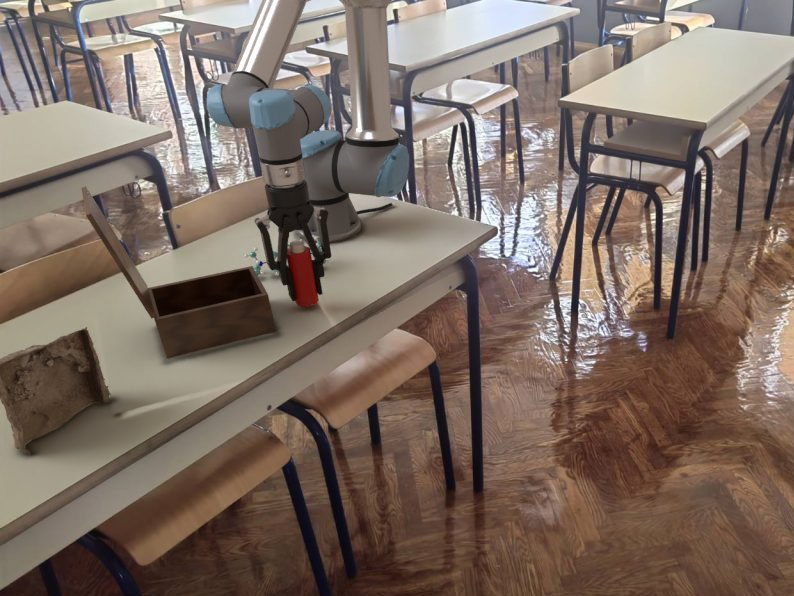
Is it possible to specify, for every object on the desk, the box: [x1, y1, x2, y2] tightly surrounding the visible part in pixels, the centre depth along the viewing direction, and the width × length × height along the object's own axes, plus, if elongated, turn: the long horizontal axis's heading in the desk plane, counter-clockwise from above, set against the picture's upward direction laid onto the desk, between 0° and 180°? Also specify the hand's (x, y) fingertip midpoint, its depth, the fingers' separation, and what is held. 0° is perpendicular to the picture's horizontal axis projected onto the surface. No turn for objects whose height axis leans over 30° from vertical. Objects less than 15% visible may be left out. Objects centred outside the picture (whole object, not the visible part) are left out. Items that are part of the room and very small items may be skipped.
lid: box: [81, 186, 156, 319], centre depth 131 cm, size 21×13×1 cm
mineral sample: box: [0, 326, 112, 456], centre depth 119 cm, size 17×4×15 cm, turn 154°
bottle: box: [287, 239, 320, 307], centre depth 148 cm, size 5×5×13 cm
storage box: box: [148, 265, 277, 359], centre depth 144 cm, size 20×13×9 cm
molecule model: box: [243, 237, 332, 276], centre depth 165 cm, size 8×18×7 cm, turn 115°
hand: (305, 294), depth 151 cm, fingers closed on bottle, 5 cm apart
